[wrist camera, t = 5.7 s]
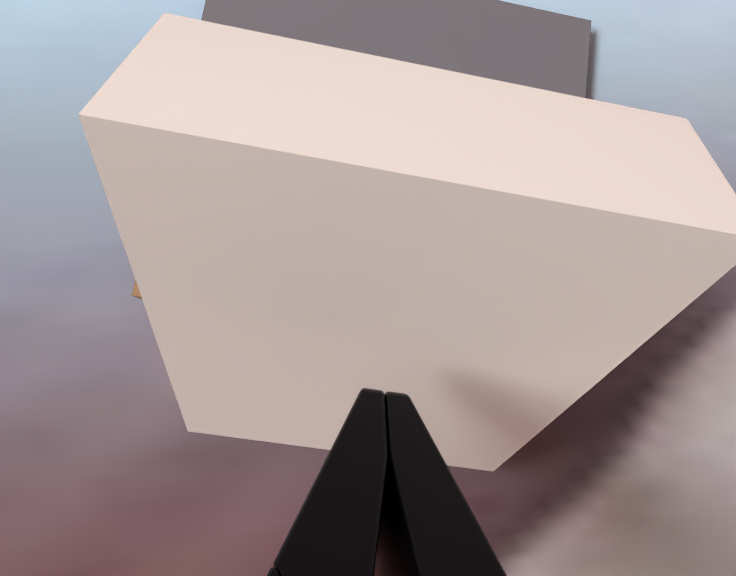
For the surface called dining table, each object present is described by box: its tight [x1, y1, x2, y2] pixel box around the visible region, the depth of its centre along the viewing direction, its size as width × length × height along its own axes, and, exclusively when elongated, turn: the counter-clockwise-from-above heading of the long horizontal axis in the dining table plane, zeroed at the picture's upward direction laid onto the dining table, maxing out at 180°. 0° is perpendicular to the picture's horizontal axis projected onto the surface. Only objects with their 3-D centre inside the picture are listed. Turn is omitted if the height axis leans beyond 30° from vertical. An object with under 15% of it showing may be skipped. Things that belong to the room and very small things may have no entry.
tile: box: [78, 13, 736, 471], centre depth 11 cm, size 3×9×10 cm
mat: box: [132, 0, 591, 299], centre depth 16 cm, size 13×14×1 cm
